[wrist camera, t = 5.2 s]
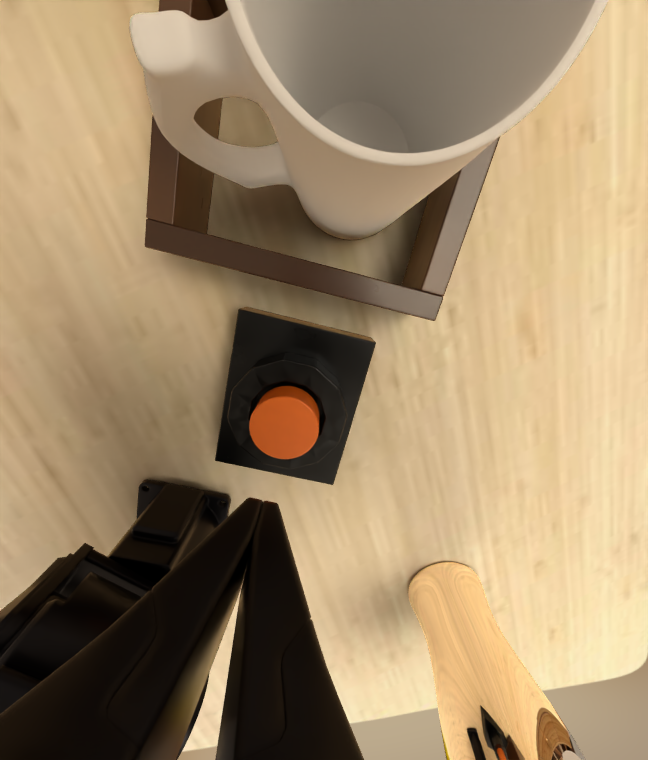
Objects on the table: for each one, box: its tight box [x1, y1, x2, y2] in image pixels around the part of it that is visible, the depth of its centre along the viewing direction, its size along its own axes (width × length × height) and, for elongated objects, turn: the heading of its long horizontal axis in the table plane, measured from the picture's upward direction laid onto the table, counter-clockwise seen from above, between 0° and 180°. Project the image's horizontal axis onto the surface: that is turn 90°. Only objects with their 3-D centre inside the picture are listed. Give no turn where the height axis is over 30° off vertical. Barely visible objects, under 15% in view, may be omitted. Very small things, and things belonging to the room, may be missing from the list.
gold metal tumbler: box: [408, 562, 586, 760], centre depth 18 cm, size 7×7×15 cm
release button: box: [249, 386, 319, 459], centre depth 16 cm, size 4×4×2 cm
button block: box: [215, 307, 376, 485], centre depth 18 cm, size 10×8×4 cm
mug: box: [129, 0, 608, 240], centre depth 11 cm, size 10×7×12 cm, turn 98°
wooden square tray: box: [145, 0, 500, 321], centre depth 14 cm, size 11×14×4 cm
